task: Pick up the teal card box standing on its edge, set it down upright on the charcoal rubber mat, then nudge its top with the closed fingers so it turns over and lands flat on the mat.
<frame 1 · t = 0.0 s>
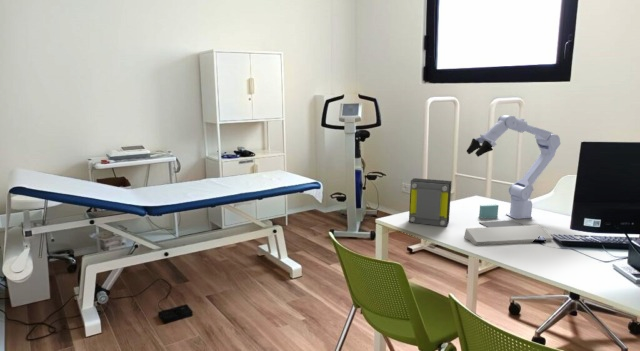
hand: (472, 153, 215), 32 cm above the table, tool tilted 50°, fingers open, 7 cm apart
card box: (488, 217, 226), on the table
electrical component: (428, 223, 217), on the table
mat: (505, 226, 212), on the table
bevelled gray strip: (507, 241, 194), on the table
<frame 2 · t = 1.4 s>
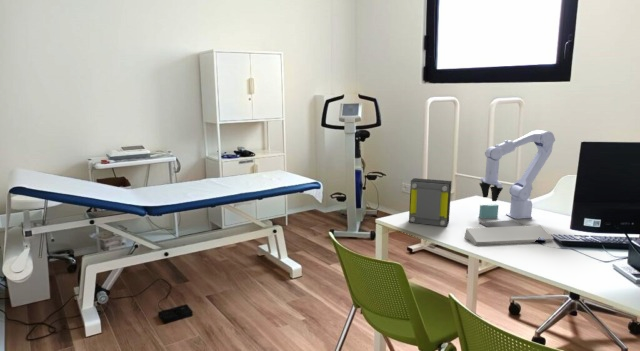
hand: (489, 199, 224), 9 cm above the table, tool pointing down, fingers open, 7 cm apart
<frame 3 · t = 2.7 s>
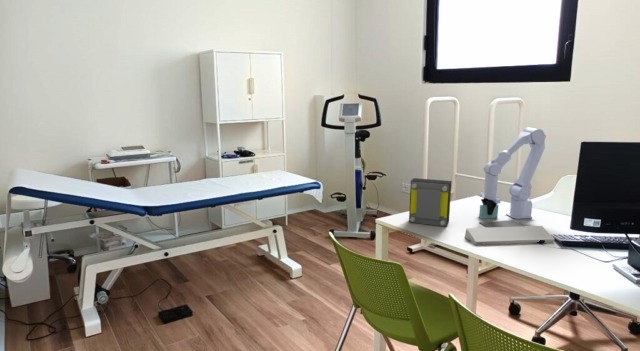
hand: (488, 214, 226), 2 cm above the table, tool pointing down, fingers closed on card box, 2 cm apart
card box: (488, 217, 226), on the table, touching gripper
everything else where it was.
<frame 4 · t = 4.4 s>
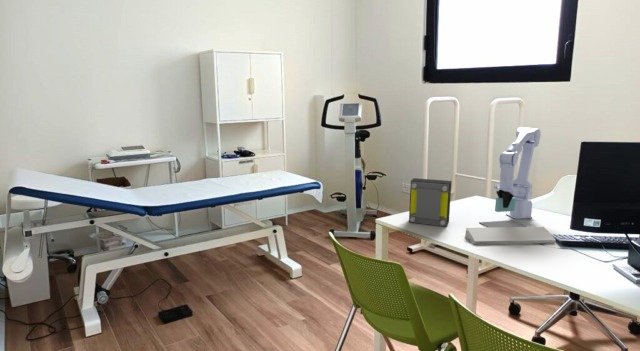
hand: (504, 206, 212), 9 cm above the table, tool pointing down, fingers closed on card box
card box: (504, 211, 212), point 7 cm above the table, touching gripper
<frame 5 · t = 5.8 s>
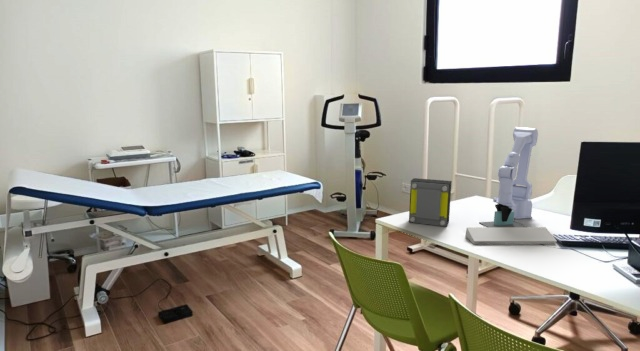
hand: (502, 220, 213), 2 cm above the table, tool pointing down, fingers closed on card box, 2 cm apart
card box: (503, 224, 214), resting on mat, touching gripper
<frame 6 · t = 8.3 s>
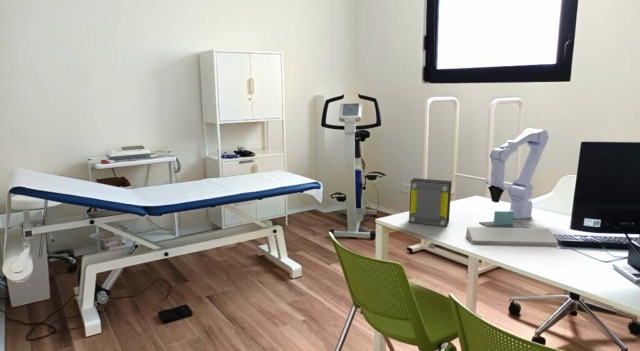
hand: (495, 201, 218), 9 cm above the table, tool pointing down, fingers closed
card box: (503, 224, 214), resting on mat
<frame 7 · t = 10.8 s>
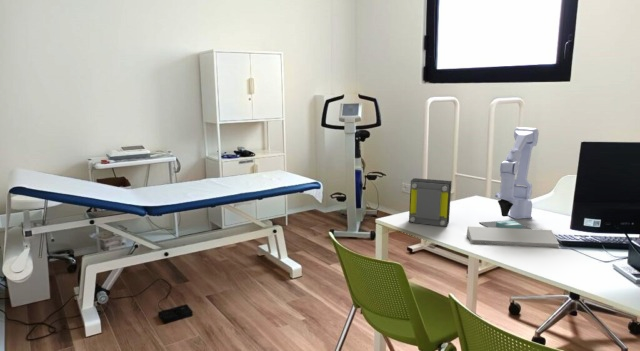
hand: (504, 215, 212), 5 cm above the table, tool pointing down, fingers closed
card box: (504, 223, 213), point 1 cm above the table, tilted 90°, touching mat
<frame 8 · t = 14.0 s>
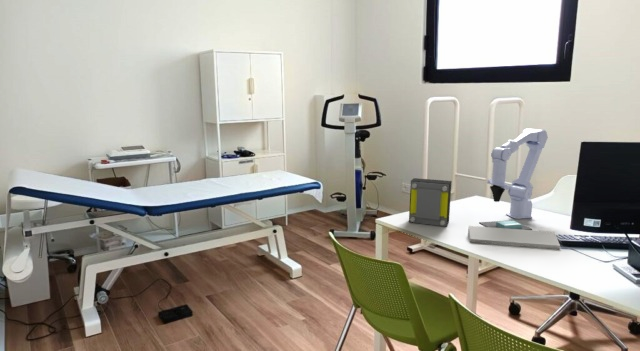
hand: (496, 201, 217), 10 cm above the table, tool pointing down, fingers closed
at the end: card box tilted 90°; card box inside the target area on the mat (1.6 cm from its centre), point 1.3 cm above the mat's base; the gripper is holding nothing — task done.
